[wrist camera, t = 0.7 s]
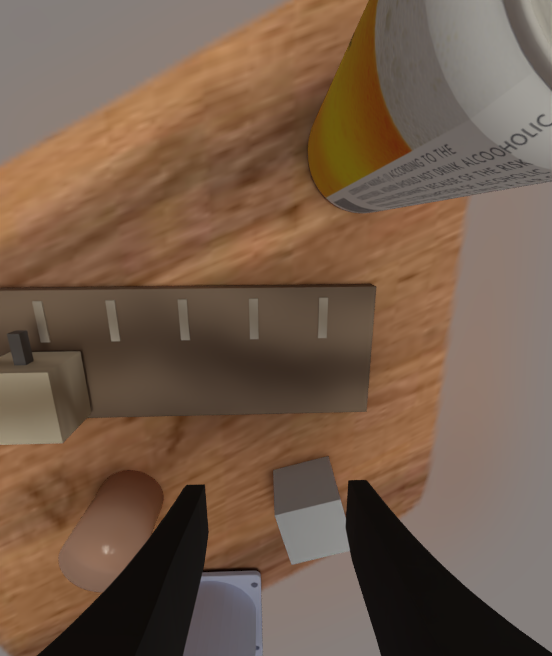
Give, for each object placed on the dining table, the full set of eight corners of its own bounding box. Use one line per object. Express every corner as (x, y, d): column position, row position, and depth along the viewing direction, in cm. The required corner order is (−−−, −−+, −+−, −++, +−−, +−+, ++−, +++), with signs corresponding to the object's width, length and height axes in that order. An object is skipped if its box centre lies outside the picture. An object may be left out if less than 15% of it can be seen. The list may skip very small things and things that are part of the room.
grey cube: (340, 499, 24) (354, 549, 21) (287, 512, 25) (291, 564, 21) (328, 455, 23) (340, 499, 20) (273, 469, 24) (274, 515, 20)
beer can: (431, 100, 17) (1249, -541, 3) (402, 221, 19) (831, 193, 5) (317, 78, 17) (617, -797, 2) (297, 204, 19) (409, 114, 4)
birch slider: (91, 413, 20) (62, 443, 17) (24, 414, 20) (-16, 445, 17) (75, 322, 19) (40, 339, 16) (2, 323, 19) (-47, 340, 16)
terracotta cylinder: (166, 520, 24) (142, 590, 20) (105, 521, 24) (66, 593, 19) (160, 469, 23) (132, 531, 18) (96, 471, 23) (51, 534, 18)
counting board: (362, 403, 22) (366, 412, 21) (24, 411, 22) (11, 420, 20) (371, 283, 20) (376, 286, 19) (-6, 287, 19) (-22, 291, 18)
